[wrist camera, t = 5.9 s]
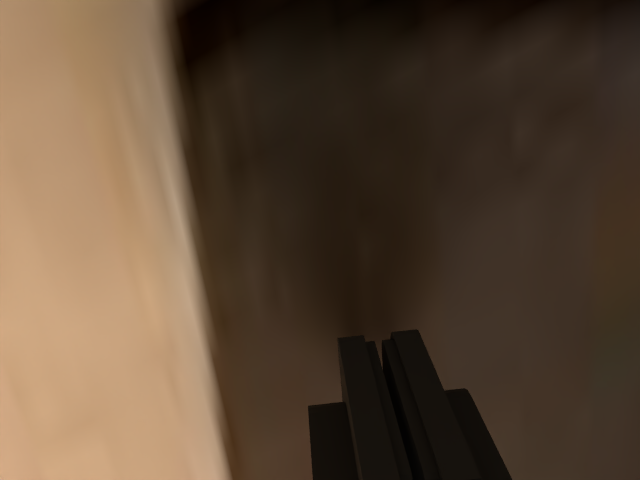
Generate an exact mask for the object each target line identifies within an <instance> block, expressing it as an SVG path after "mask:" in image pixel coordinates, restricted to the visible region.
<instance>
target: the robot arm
mask: <svg viewBox="0 0 640 480" xmlns="http://www.w3.org/2000/svg"><path fill="white" fill-rule="evenodd" d="M338 352H339V363H340V375H341V386H342V398H343V402H339V403H330V404H321V405H312V406H308V413H309V428H310V443H311V458H312V472H313V480H512V478H511V476H510V474H509V472H508V470H507V468H506V466H505V464H504V462H503V460H502V458H501V456H500V454H499V452H498V450H497V448H496V446H495V444H494V442H493V440H492V438H491V436H490V434H489V432H488V430H487V428H486V426H485V423H484V421H483V419H482V417H481V415H480V413H479V411H478V409H477V407H476V405H475V403H474V401H473V399H472V397H471V395H470V393H469V392H468V390H466V389H465V388H464V389H455V390H446V391H444V389H443V387H442V384H441V382H440V380H439V377H438V375H437V373H436V370H435V368H434V366H433V363H432V361H431V359H430V356H429V354H428V352H427V349H426V347H425V345H424V342H423V340H422V338H421V335H420V333H419V331H418V330H417V329H416V330H407V331H398V332H391V339H389V340H382V361H383V369H382V366H381V362H380V358H379V355H378V351H377V348H376V344H375V342H374V341H370V342H365V339H364V336H363V335H361V336H352V337H343V338H338Z"/></svg>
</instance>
